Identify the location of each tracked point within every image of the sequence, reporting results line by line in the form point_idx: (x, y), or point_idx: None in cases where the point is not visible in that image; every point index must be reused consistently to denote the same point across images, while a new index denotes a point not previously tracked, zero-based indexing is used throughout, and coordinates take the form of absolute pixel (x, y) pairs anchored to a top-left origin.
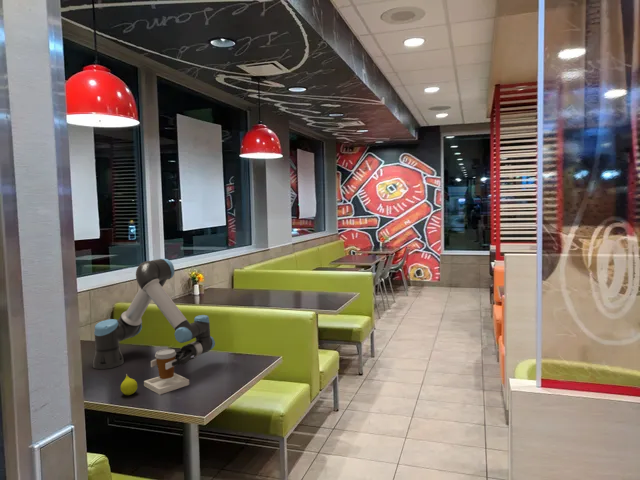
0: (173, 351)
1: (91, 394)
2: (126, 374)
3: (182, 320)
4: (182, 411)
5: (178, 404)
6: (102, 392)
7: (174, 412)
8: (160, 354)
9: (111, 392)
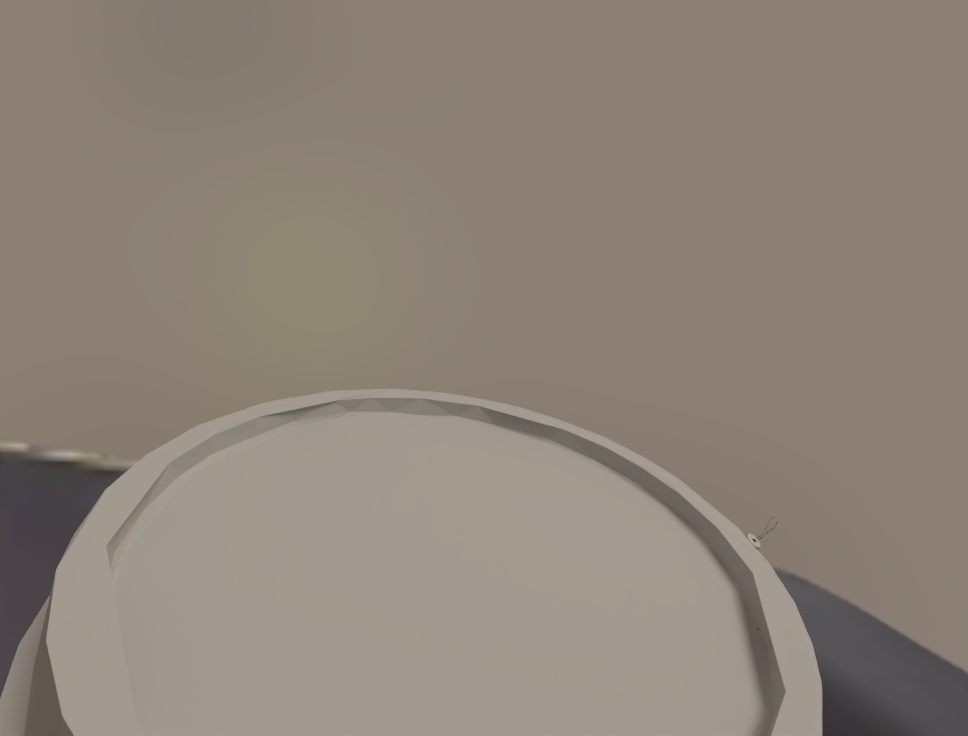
0: (141, 658)
1: (929, 655)
2: (747, 534)
3: None
4: (14, 467)
5: (50, 543)
6: (912, 699)
7: (83, 459)
8: (460, 402)
9: (844, 707)
